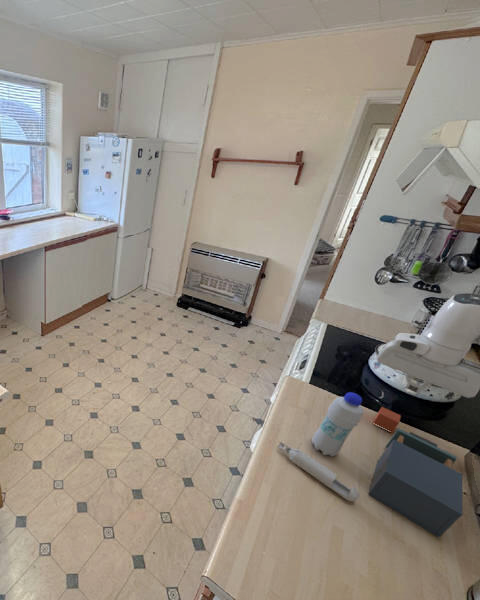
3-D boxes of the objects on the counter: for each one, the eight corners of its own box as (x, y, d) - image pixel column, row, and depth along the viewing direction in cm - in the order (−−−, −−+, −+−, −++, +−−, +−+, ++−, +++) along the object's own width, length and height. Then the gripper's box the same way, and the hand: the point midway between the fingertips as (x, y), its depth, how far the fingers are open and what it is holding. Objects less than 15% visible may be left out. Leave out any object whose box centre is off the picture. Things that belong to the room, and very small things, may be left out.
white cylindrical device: (357, 497, 78) (370, 479, 75) (351, 508, 75) (364, 491, 72) (280, 444, 90) (289, 428, 87) (273, 453, 88) (281, 436, 85)
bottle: (338, 463, 86) (374, 408, 77) (309, 451, 89) (340, 396, 80) (336, 446, 91) (369, 392, 82) (308, 435, 94) (338, 382, 85)
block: (374, 417, 103) (381, 406, 101) (393, 426, 100) (401, 415, 98) (372, 424, 100) (379, 413, 98) (391, 433, 97) (399, 422, 95)
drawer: (388, 436, 95) (400, 419, 92) (442, 463, 88) (457, 446, 85) (378, 472, 84) (391, 454, 81) (439, 507, 76) (456, 489, 73)
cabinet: (377, 460, 88) (393, 439, 84) (441, 496, 80) (462, 473, 76) (367, 494, 79) (385, 471, 75) (438, 537, 71) (462, 514, 67)
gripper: (495, 365, 82) (462, 405, 88) (392, 330, 95) (369, 367, 101) (498, 375, 78) (463, 416, 84) (389, 337, 91) (366, 375, 97)
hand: (411, 389), depth 93 cm, fingers closed
